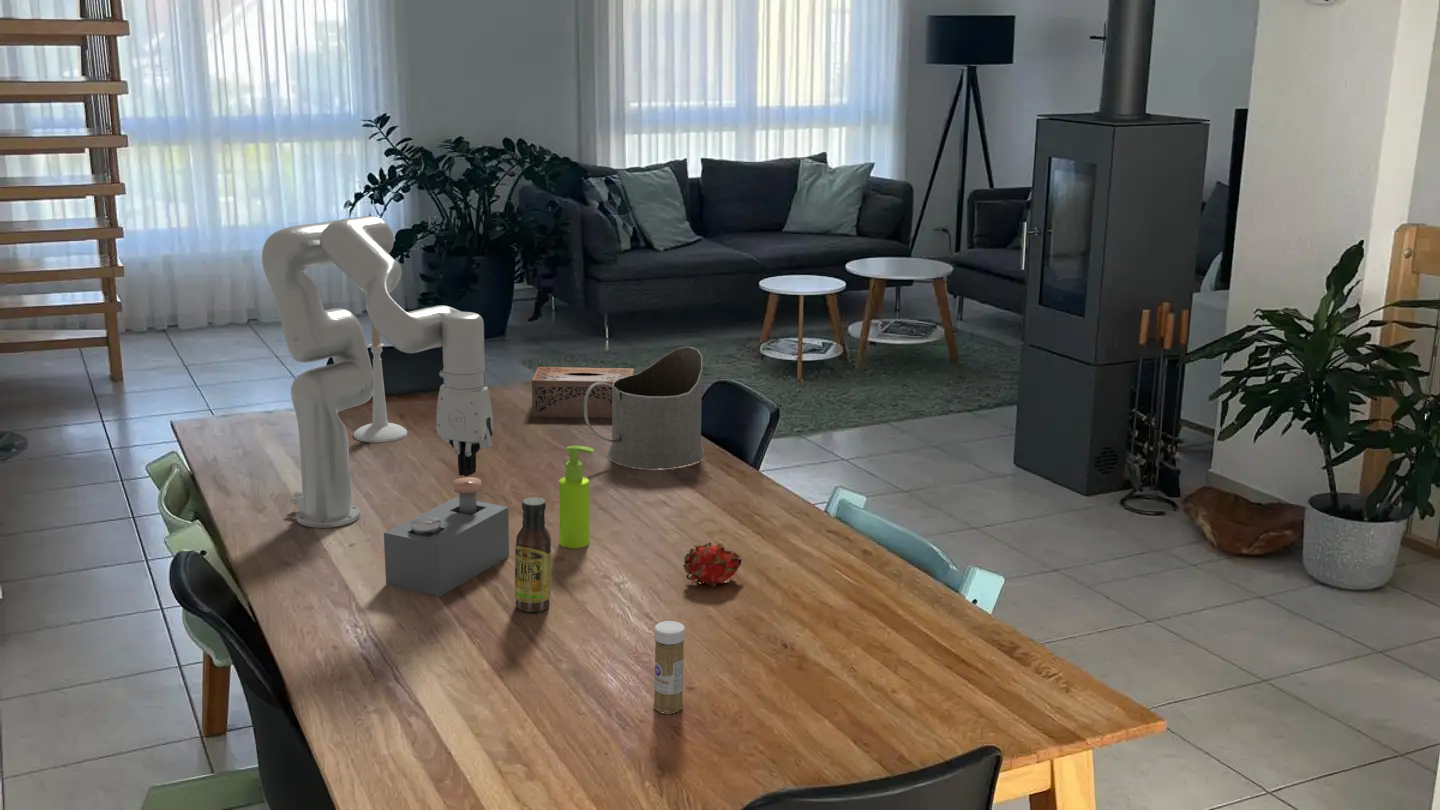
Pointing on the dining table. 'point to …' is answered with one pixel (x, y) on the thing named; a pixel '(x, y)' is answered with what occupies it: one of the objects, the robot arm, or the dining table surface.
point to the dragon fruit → (711, 564)
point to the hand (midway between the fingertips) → (467, 473)
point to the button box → (447, 548)
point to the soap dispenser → (574, 502)
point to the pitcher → (657, 413)
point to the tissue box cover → (574, 391)
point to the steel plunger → (426, 526)
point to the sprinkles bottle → (669, 666)
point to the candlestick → (379, 404)
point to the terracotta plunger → (467, 493)
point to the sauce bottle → (533, 558)
